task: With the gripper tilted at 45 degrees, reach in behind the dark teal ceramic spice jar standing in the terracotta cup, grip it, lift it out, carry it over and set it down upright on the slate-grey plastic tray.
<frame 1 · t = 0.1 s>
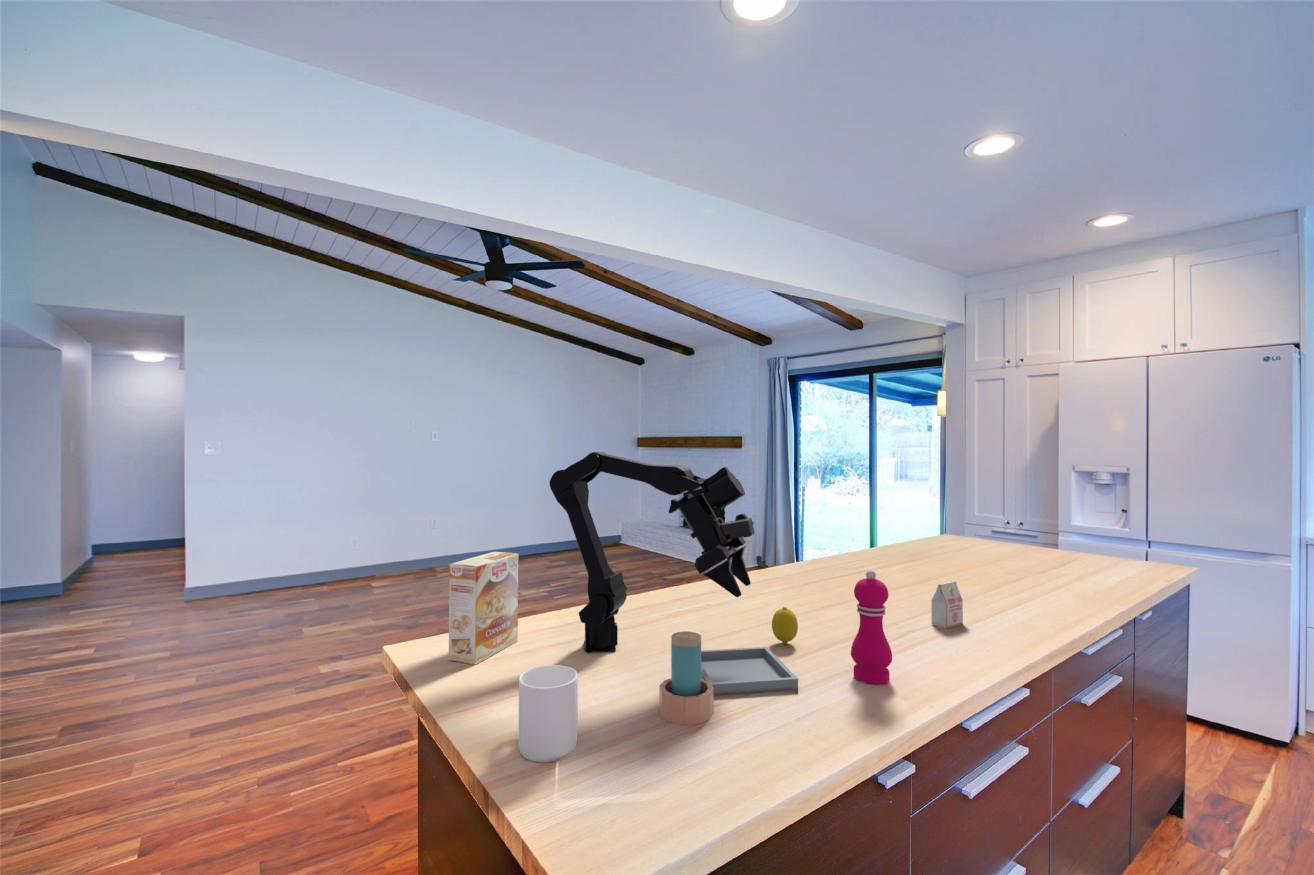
hand: (744, 590, 112), 15 cm above the counter, tool tilted 35°, fingers open, 9 cm apart
tray: (740, 677, 107), on the counter
pepper mill: (871, 679, 106), on the counter
terracotta cup: (686, 715, 92), on the counter
coffeecake box: (485, 651, 121), on the counter
lemon: (784, 644, 125), on the counter
spice jar: (686, 711, 92), point 1 cm above the counter, touching terracotta cup
milk carton: (947, 625, 138), on the counter
mug: (542, 744, 83), on the counter
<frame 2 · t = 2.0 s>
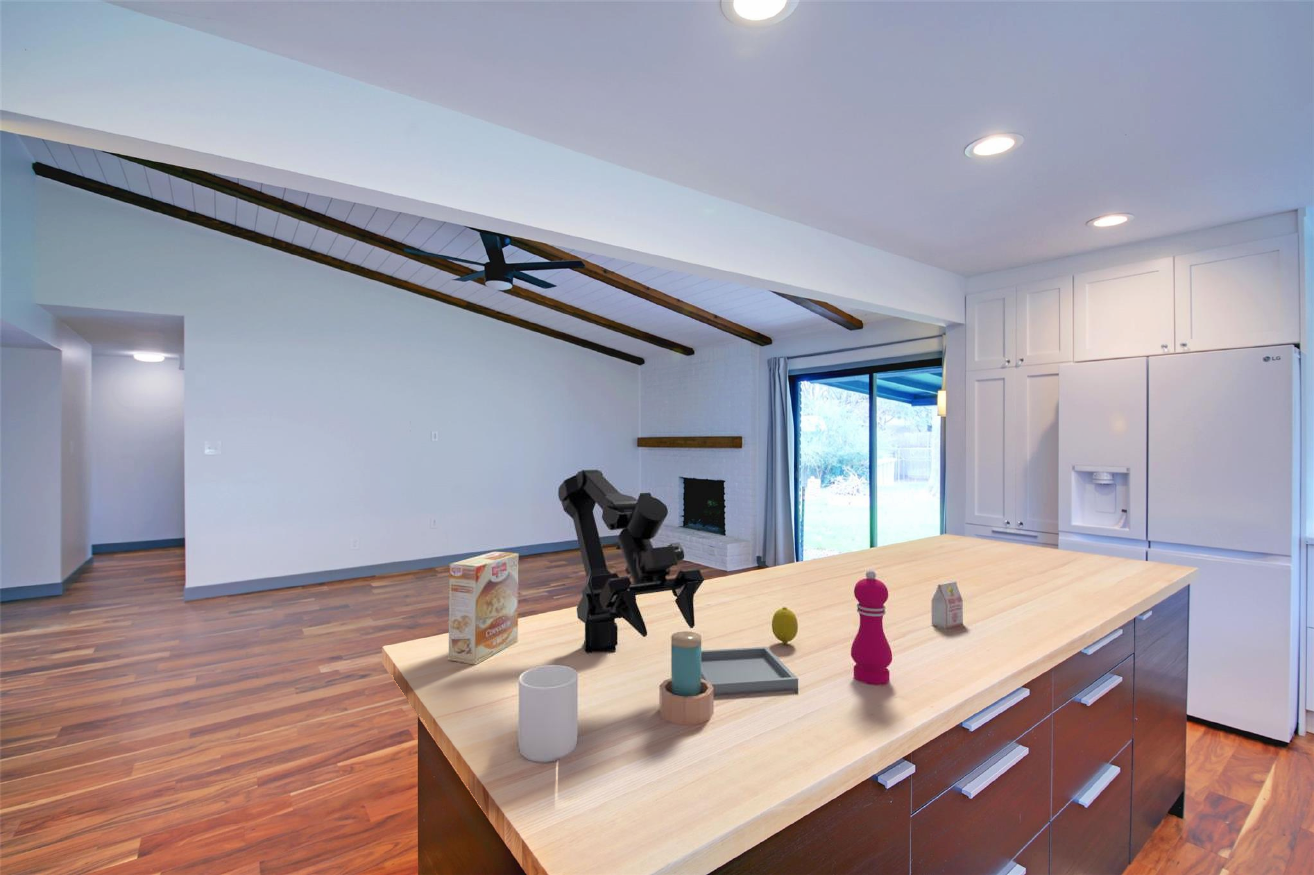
hand: (669, 631, 97), 12 cm above the counter, tool tilted 45°, fingers open, 9 cm apart
nothing on the counter moved.
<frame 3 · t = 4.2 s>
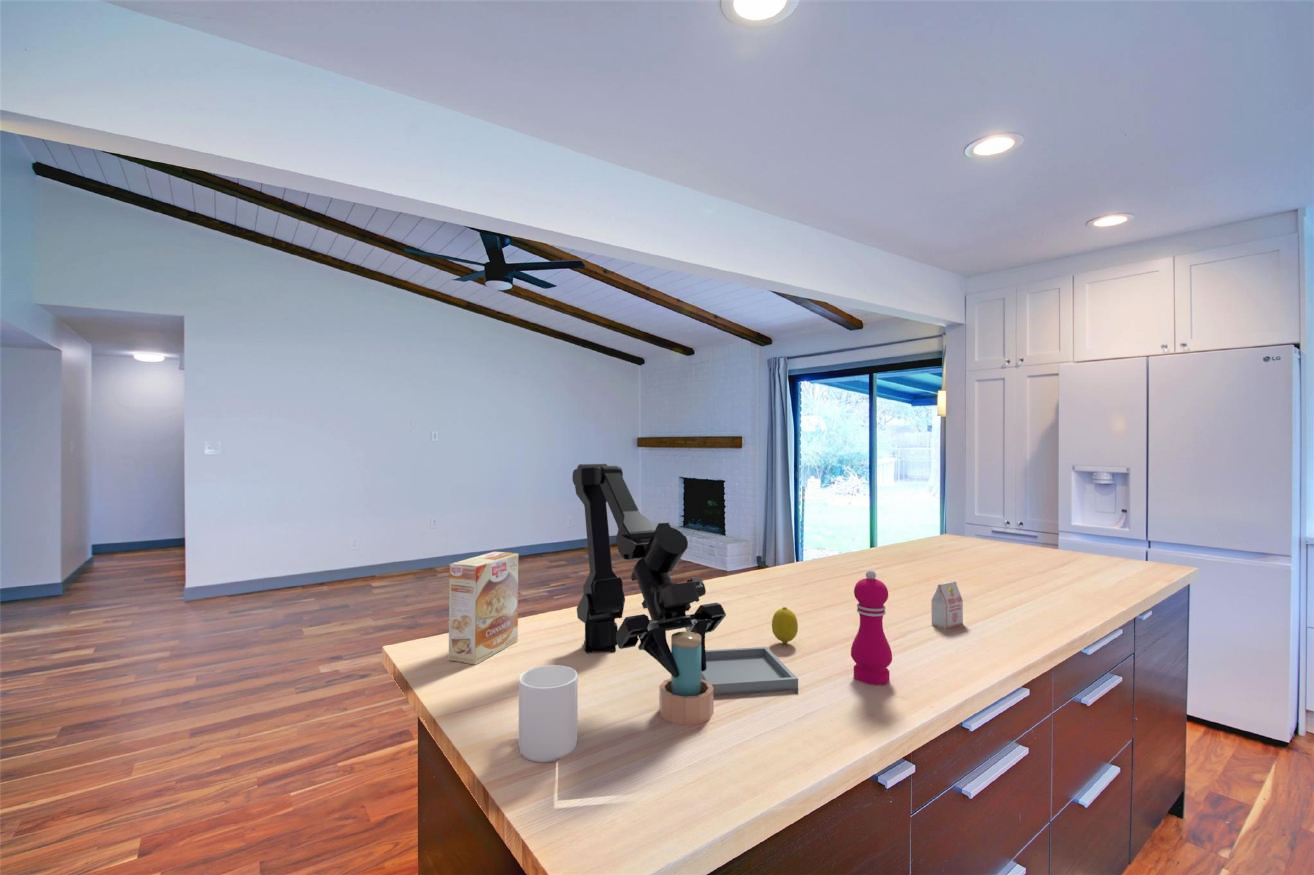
hand: (690, 673, 91), 7 cm above the counter, tool tilted 45°, fingers closed on spice jar, 5 cm apart
spice jar: (686, 711, 92), point 1 cm above the counter, touching gripper, terracotta cup
everything else where it was.
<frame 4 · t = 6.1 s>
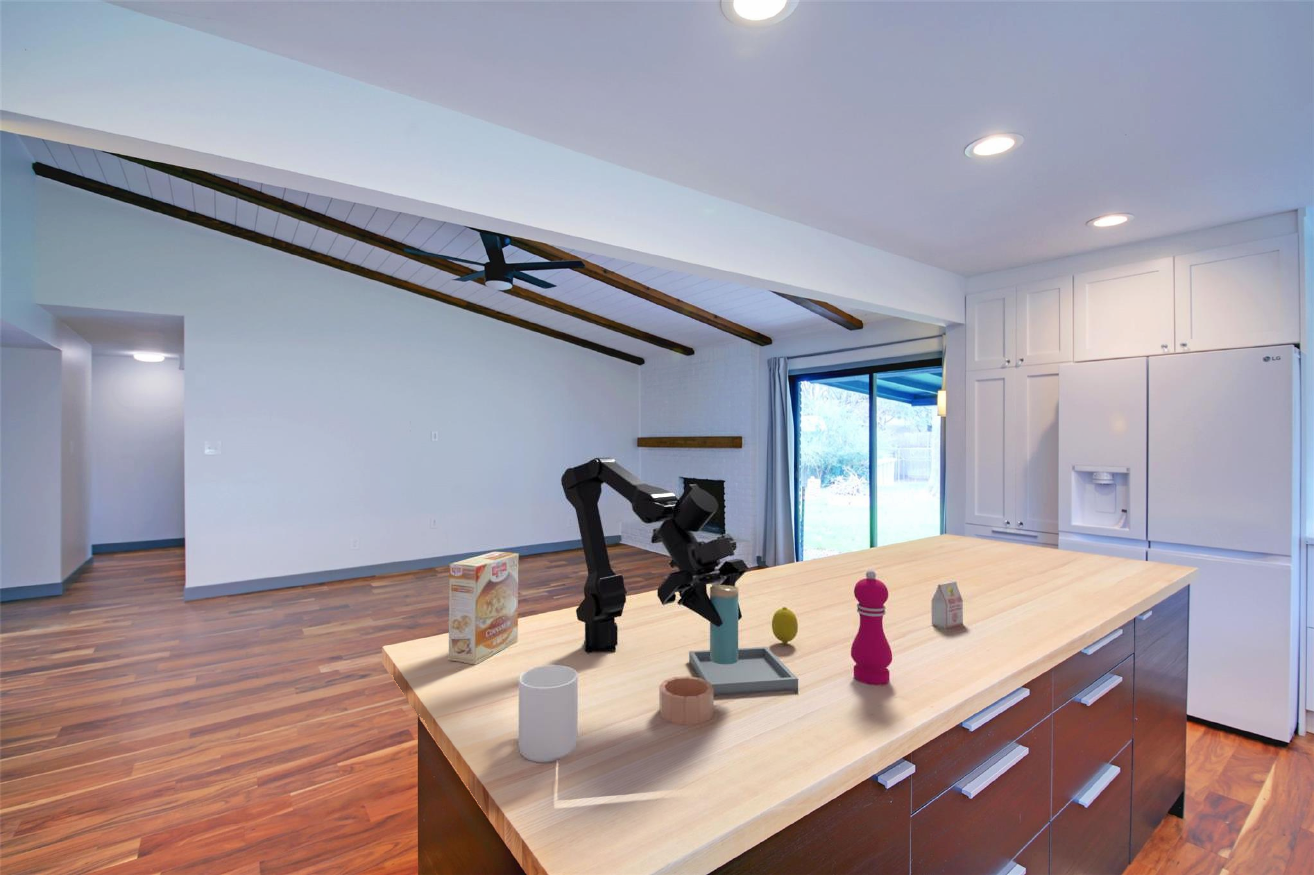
hand: (730, 622, 97), 13 cm above the counter, tool tilted 45°, fingers closed on spice jar, 5 cm apart
spice jar: (724, 658, 98), point 7 cm above the counter, touching gripper
everything else where it was.
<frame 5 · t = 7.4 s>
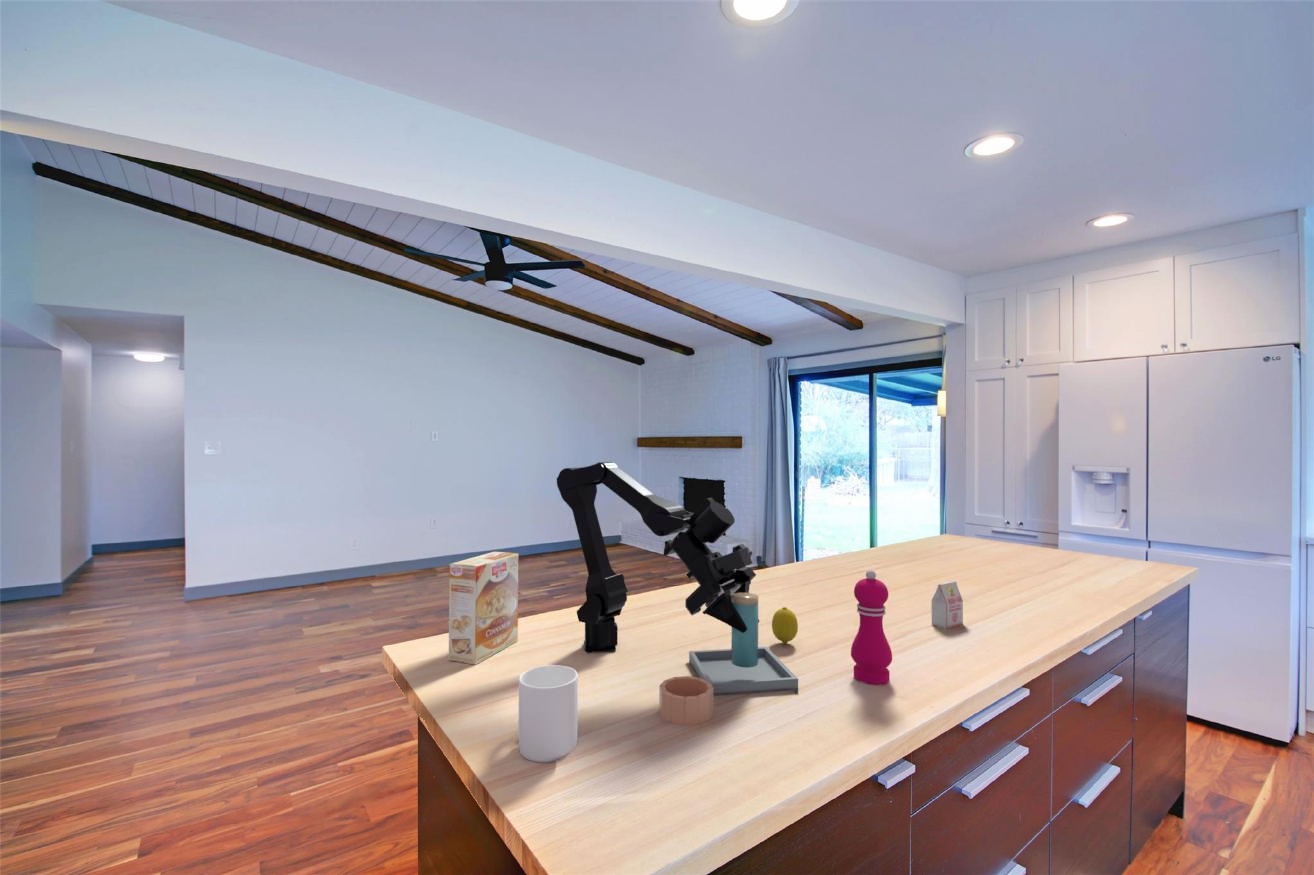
hand: (751, 627, 103), 10 cm above the counter, tool tilted 45°, fingers closed on spice jar, 5 cm apart
spice jar: (744, 662, 104), point 4 cm above the counter, touching gripper
everything else where it was.
when the fingers open (9 cm above the counter, at t = 8.1 s): spice jar drops 1 cm, resting on tray.
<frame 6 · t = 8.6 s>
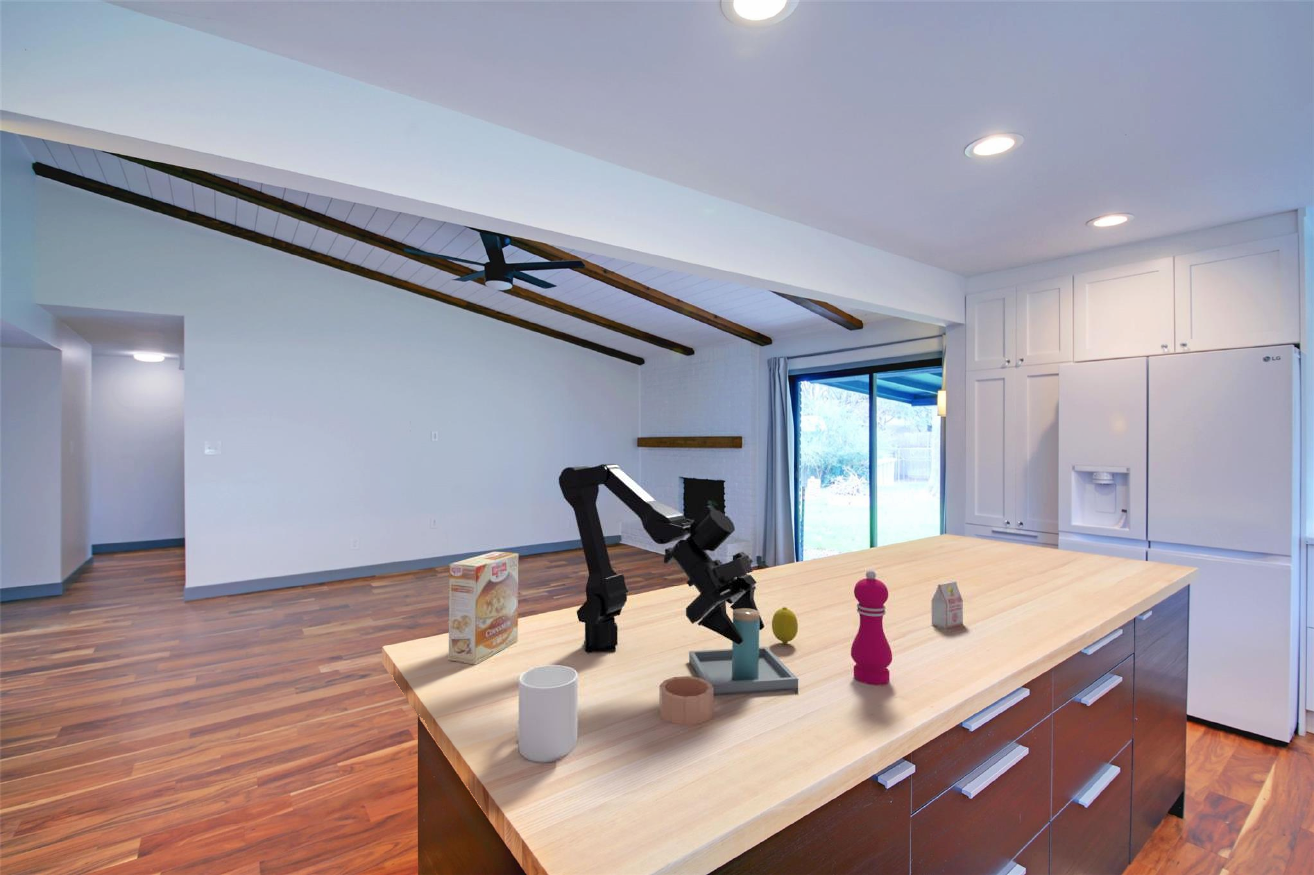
hand: (752, 635, 103), 9 cm above the counter, tool tilted 45°, fingers open, 9 cm apart
spice jar: (745, 678, 104), point 1 cm above the counter, touching tray
everything else where it was.
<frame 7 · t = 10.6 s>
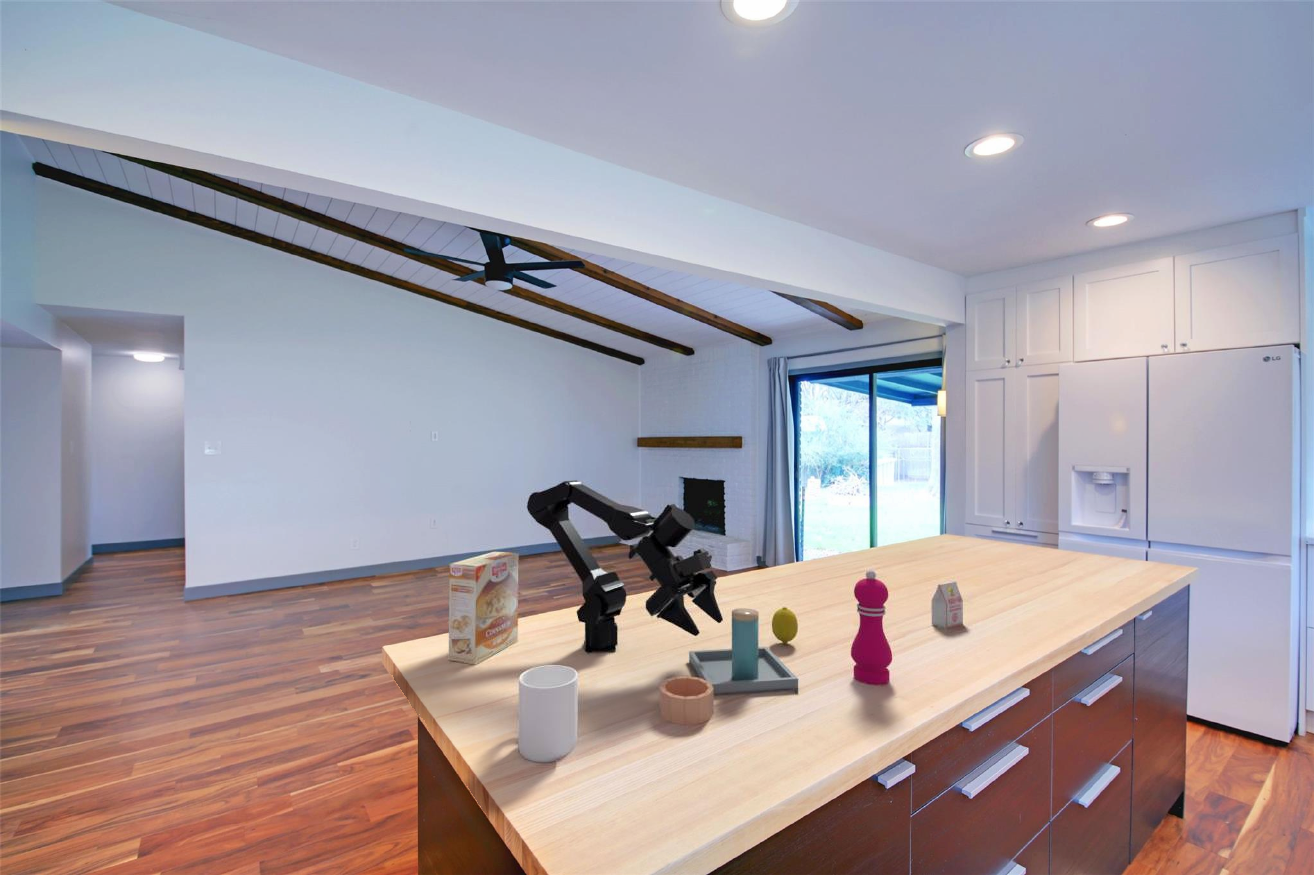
hand: (709, 627, 108), 9 cm above the counter, tool tilted 45°, fingers open, 9 cm apart
nothing on the counter moved.
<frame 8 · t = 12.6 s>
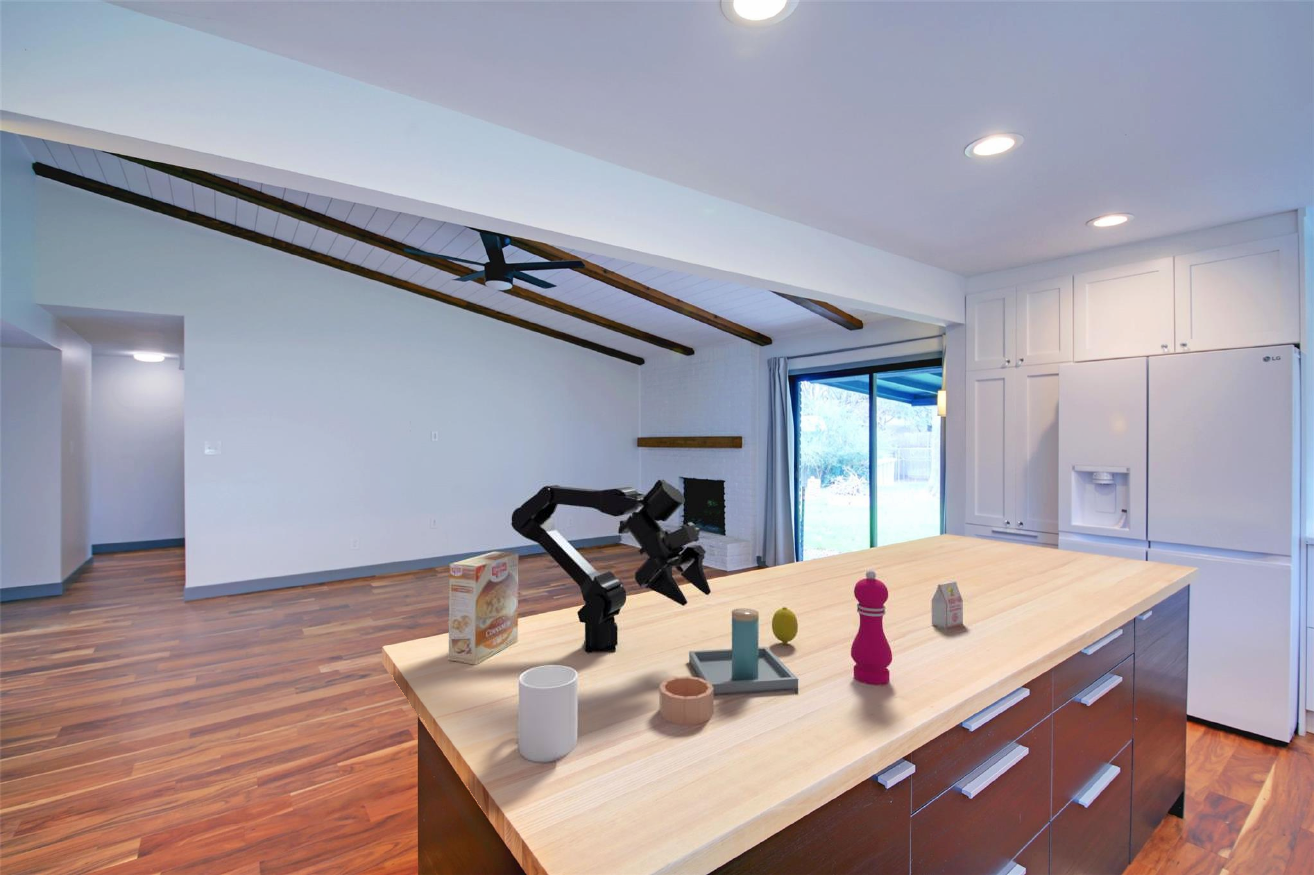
hand: (697, 598, 111), 14 cm above the counter, tool tilted 45°, fingers open, 9 cm apart
nothing on the counter moved.
at the end: spice jar inside the target area on the tray (3.0 cm from its centre), point 1.0 cm above the tray's base; spice jar tilted 0°; the gripper is holding nothing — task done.
